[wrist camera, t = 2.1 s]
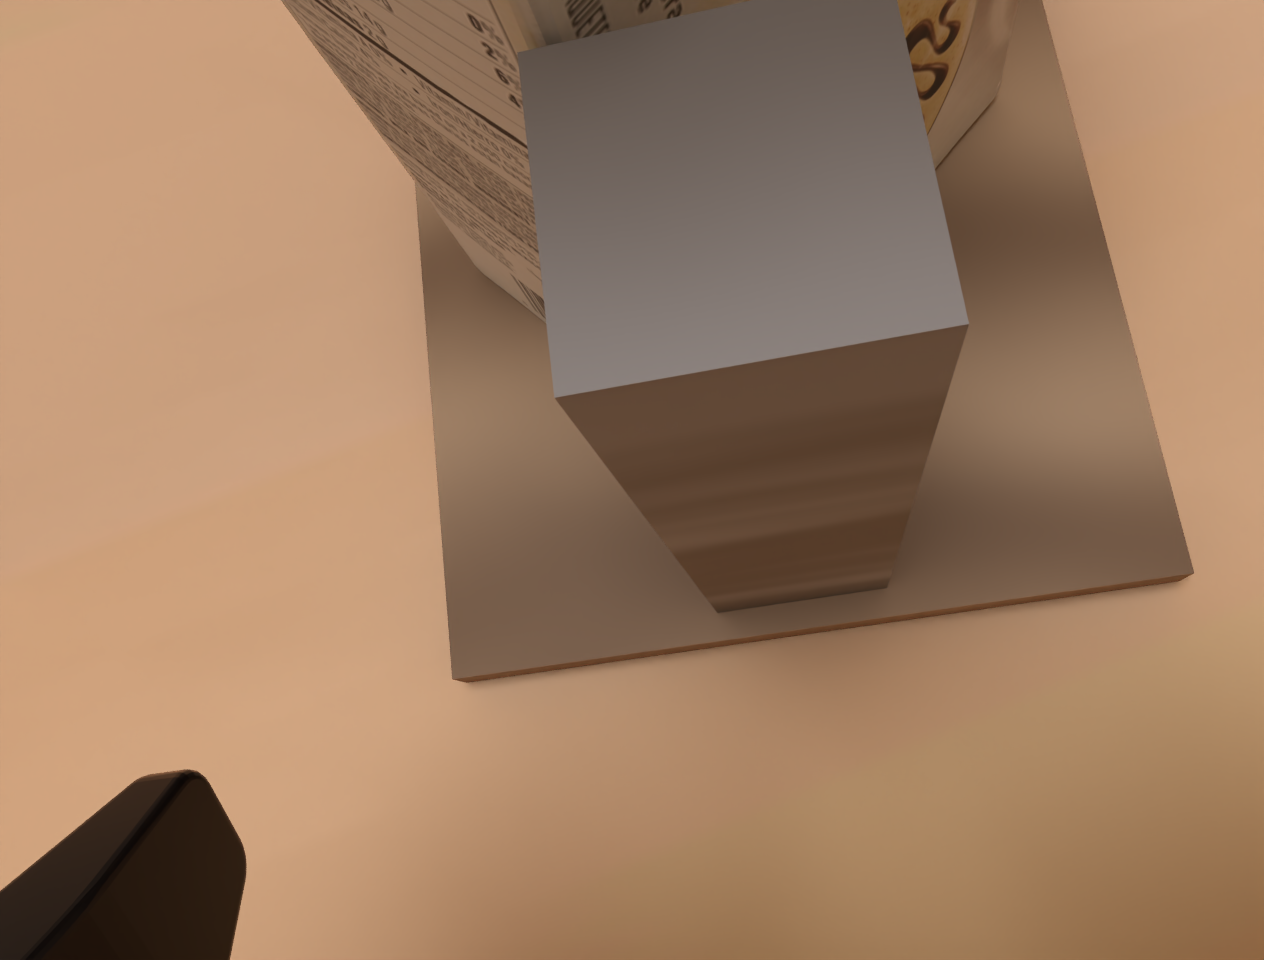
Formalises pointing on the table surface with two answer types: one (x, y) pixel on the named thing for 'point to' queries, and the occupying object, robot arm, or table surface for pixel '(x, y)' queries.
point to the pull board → (981, 484)
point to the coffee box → (493, 109)
